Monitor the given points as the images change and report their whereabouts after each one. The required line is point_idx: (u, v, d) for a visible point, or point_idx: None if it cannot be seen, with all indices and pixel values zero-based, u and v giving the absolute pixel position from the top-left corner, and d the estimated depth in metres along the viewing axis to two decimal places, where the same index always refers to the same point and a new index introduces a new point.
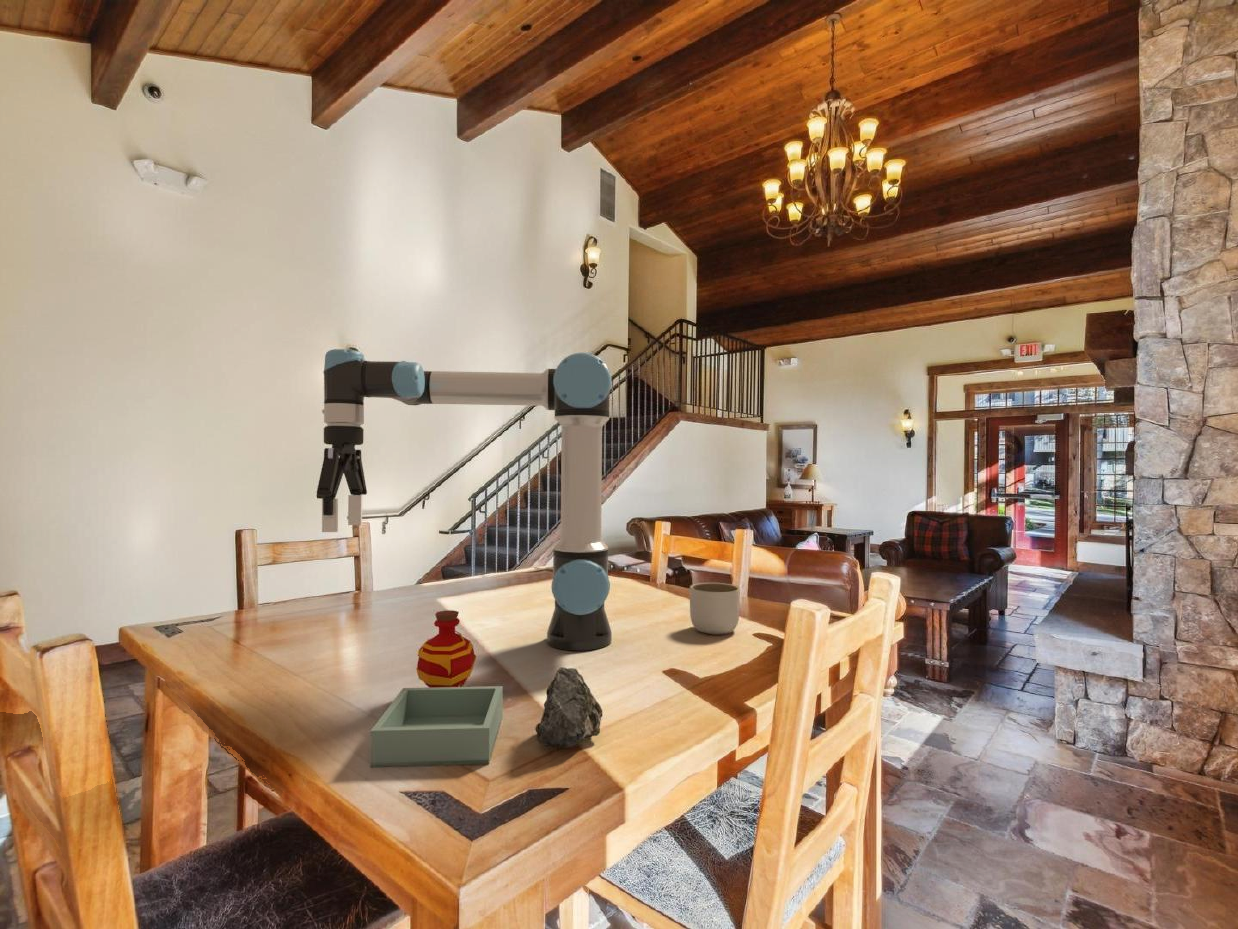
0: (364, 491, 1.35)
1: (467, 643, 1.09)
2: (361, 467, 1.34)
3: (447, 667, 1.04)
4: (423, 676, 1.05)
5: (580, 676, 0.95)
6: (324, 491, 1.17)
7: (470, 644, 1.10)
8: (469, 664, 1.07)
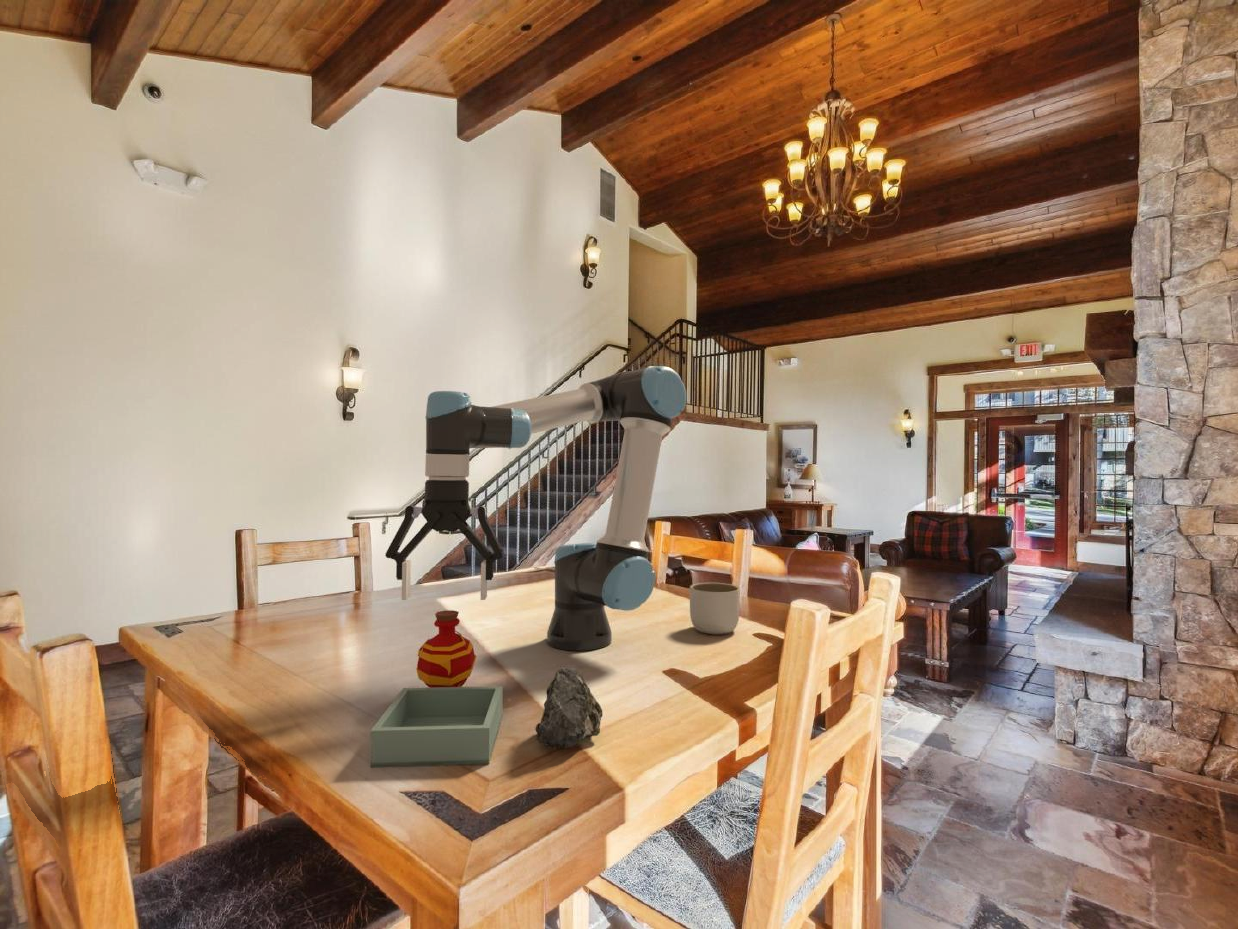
0: (489, 559, 1.08)
1: (467, 643, 1.09)
2: (485, 528, 1.08)
3: (447, 667, 1.04)
4: (423, 676, 1.05)
5: (580, 676, 0.95)
6: None
7: (470, 644, 1.10)
8: (469, 664, 1.07)
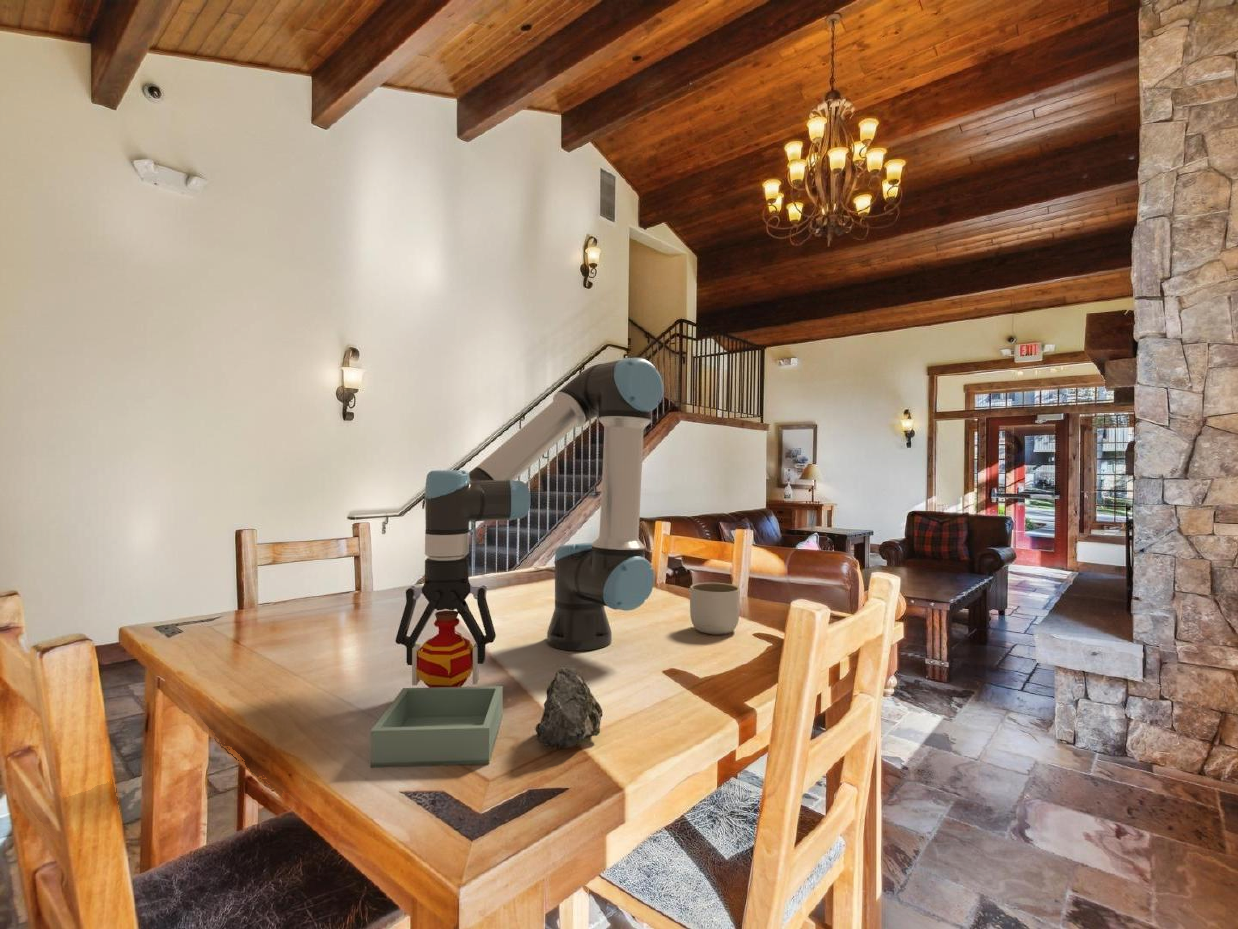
0: (480, 643, 1.08)
1: (467, 643, 1.09)
2: (482, 610, 1.08)
3: (447, 667, 1.04)
4: (423, 676, 1.05)
5: (580, 676, 0.95)
6: None
7: (470, 644, 1.10)
8: (469, 664, 1.07)
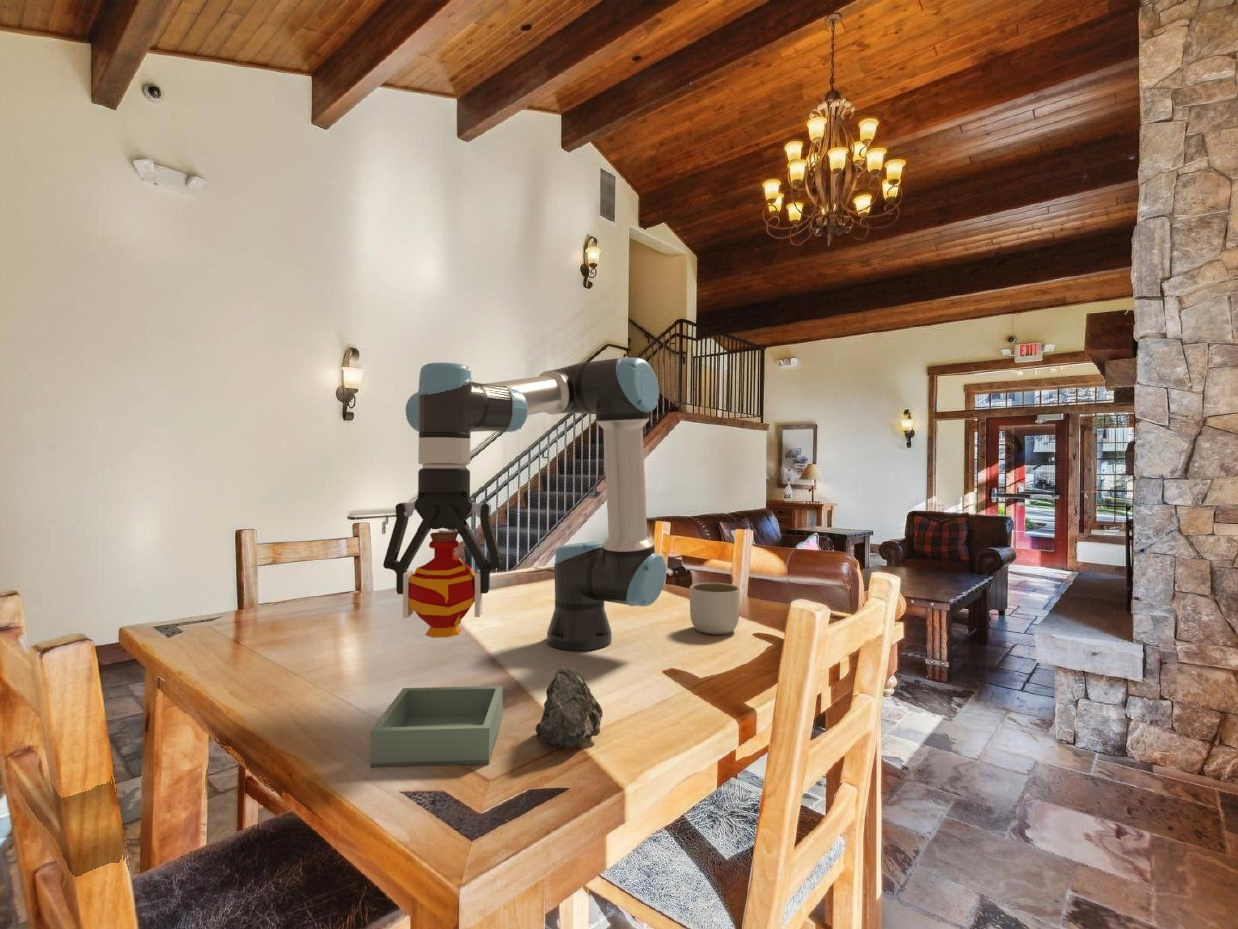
0: (484, 568, 0.91)
1: (468, 569, 0.93)
2: (486, 530, 0.92)
3: (444, 593, 0.87)
4: (415, 605, 0.89)
5: (580, 676, 0.95)
6: None
7: (471, 571, 0.93)
8: (470, 592, 0.90)
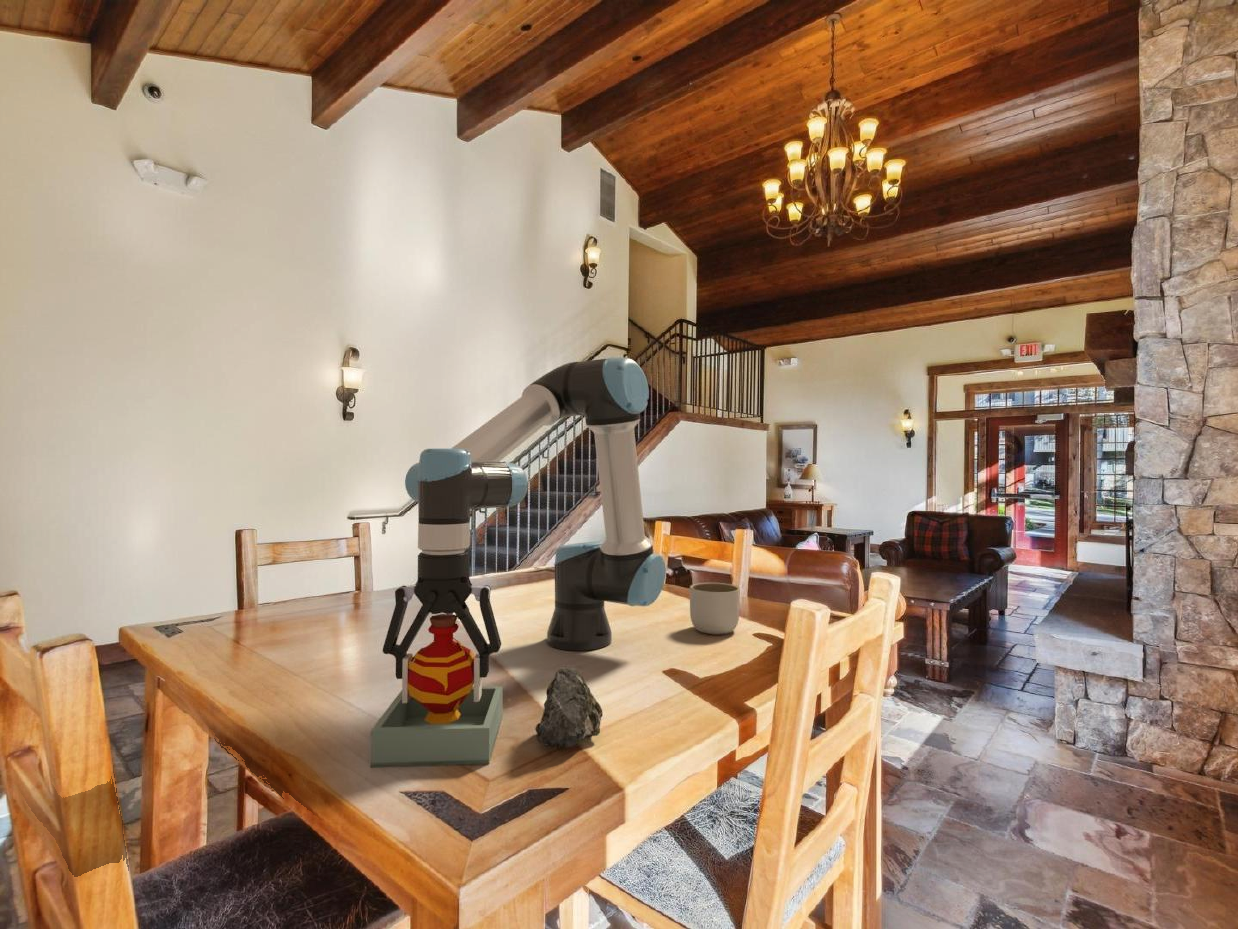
0: (483, 653, 0.91)
1: (467, 653, 0.93)
2: (485, 614, 0.92)
3: (443, 682, 0.87)
4: (414, 692, 0.89)
5: (580, 676, 0.95)
6: None
7: (471, 654, 0.93)
8: (469, 678, 0.90)
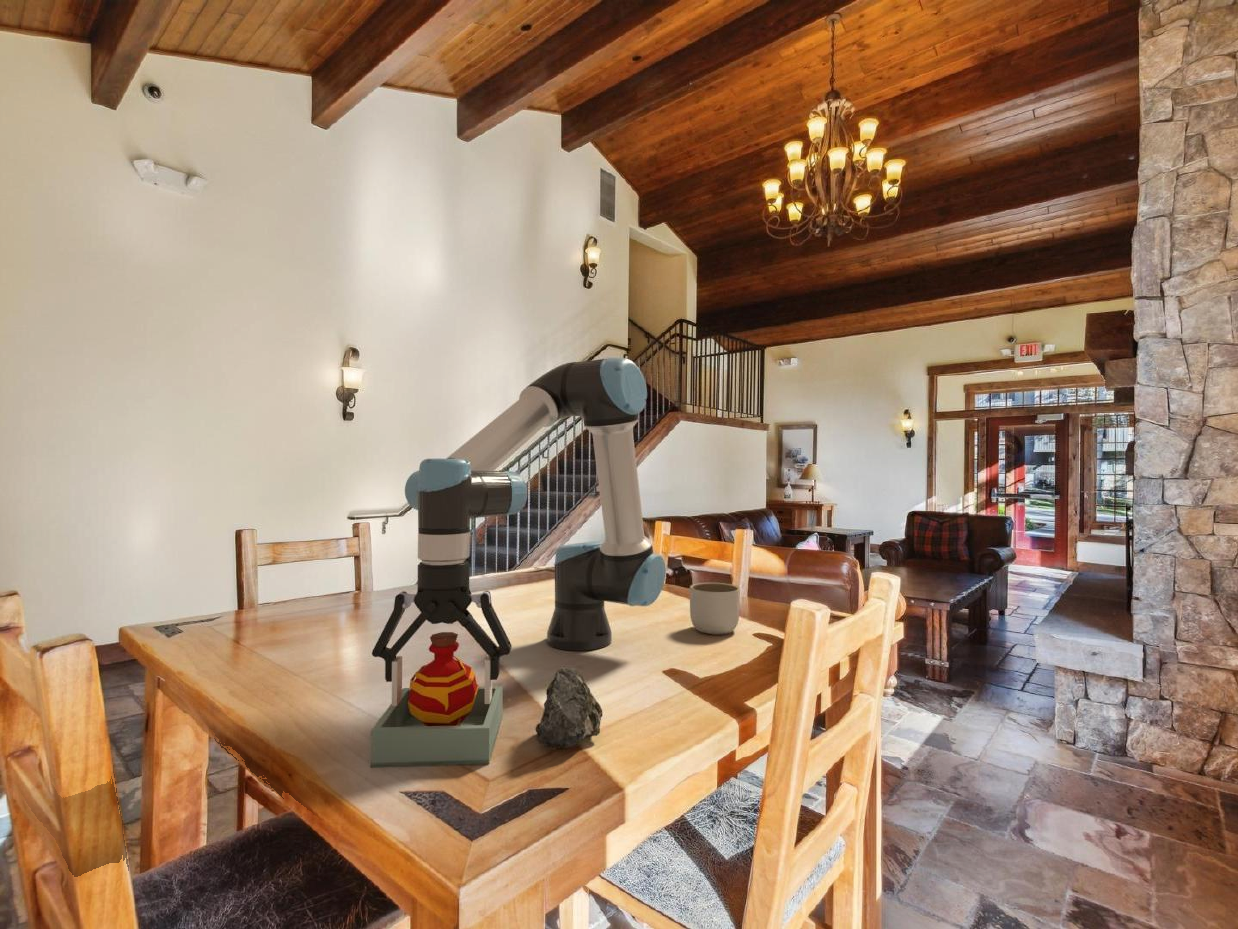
0: (494, 655, 0.91)
1: (468, 671, 0.93)
2: (489, 619, 0.92)
3: (444, 702, 0.88)
4: (415, 711, 0.89)
5: (580, 676, 0.95)
6: None
7: (471, 672, 0.93)
8: (470, 697, 0.90)
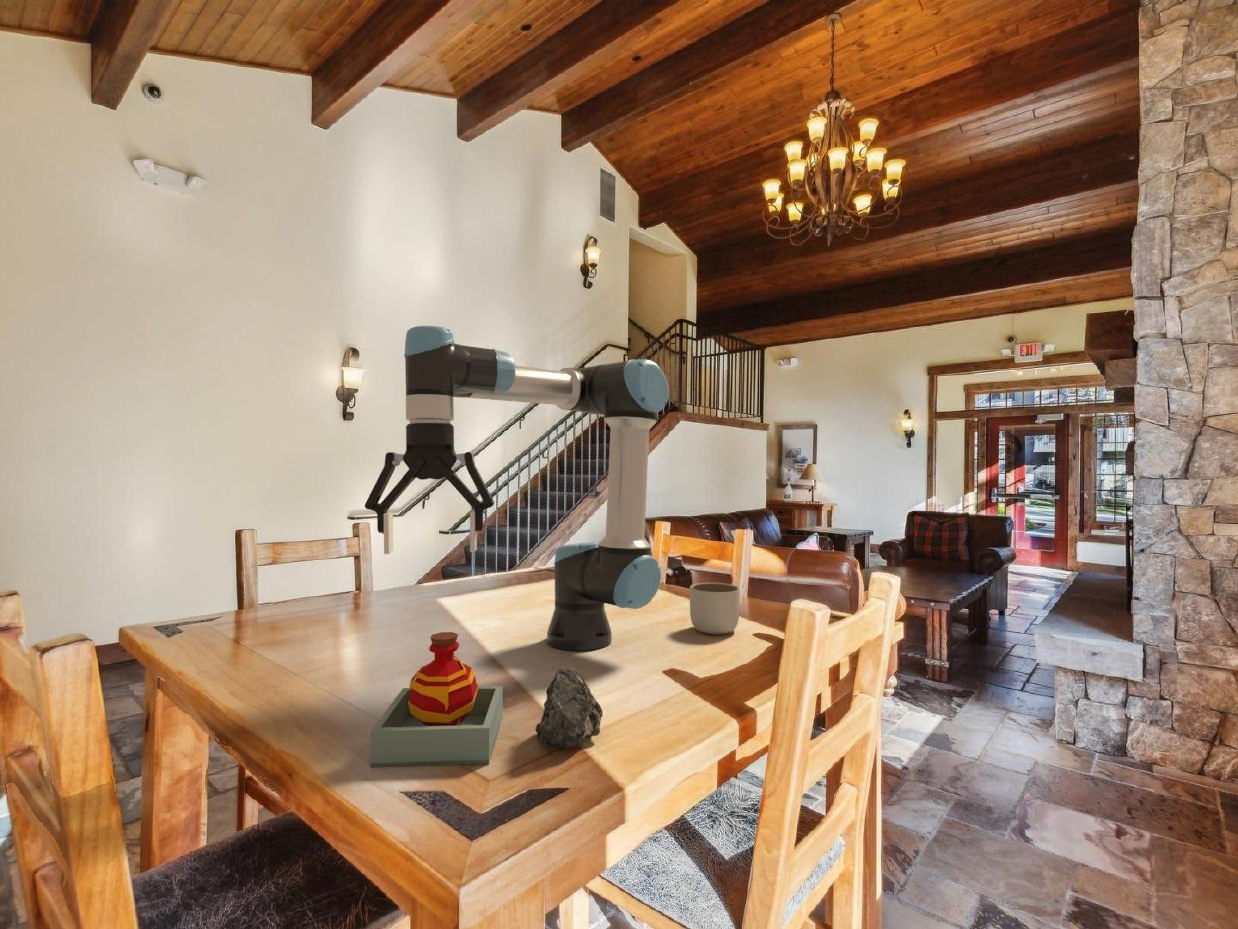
0: (478, 507, 1.00)
1: (468, 671, 0.93)
2: (473, 475, 1.00)
3: (444, 701, 0.88)
4: (415, 711, 0.89)
5: (580, 676, 0.95)
6: None
7: (471, 672, 0.94)
8: (470, 696, 0.91)
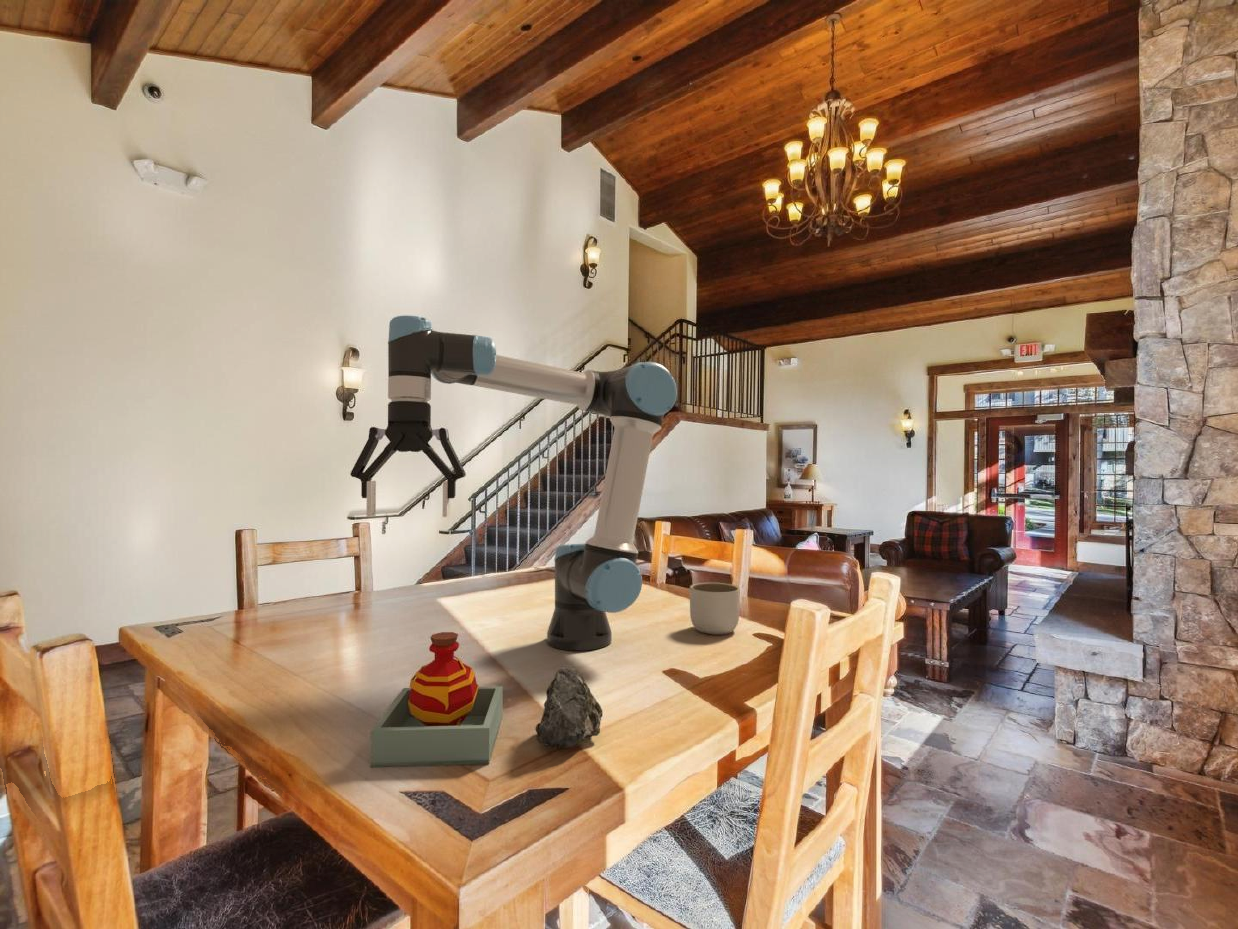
0: None
1: (468, 671, 0.93)
2: (446, 448, 1.13)
3: (444, 701, 0.88)
4: (415, 711, 0.89)
5: (580, 676, 0.95)
6: None
7: (471, 672, 0.94)
8: (470, 697, 0.91)
